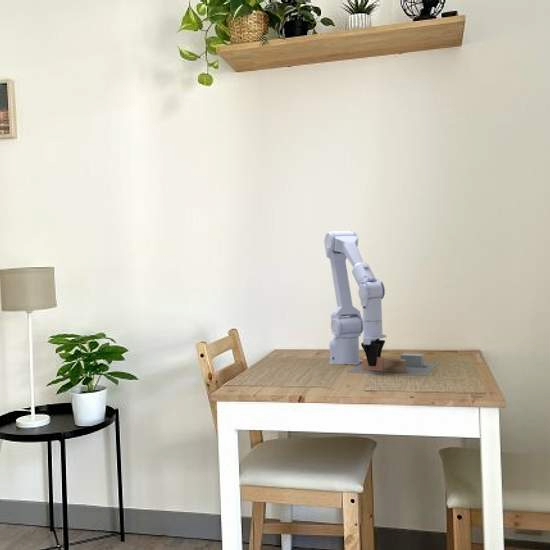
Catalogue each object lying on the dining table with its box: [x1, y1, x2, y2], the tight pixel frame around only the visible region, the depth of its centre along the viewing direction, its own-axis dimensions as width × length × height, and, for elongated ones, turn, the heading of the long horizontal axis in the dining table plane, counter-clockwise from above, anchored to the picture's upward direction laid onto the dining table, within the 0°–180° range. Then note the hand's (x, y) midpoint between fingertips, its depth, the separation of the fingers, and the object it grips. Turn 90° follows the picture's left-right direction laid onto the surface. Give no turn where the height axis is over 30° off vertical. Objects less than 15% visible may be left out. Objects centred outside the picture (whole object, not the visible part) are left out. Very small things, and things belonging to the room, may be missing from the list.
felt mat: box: [346, 362, 439, 377], centre depth 193 cm, size 24×20×1 cm
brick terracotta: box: [361, 356, 386, 371], centre depth 191 cm, size 6×3×4 cm, turn 66°
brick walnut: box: [383, 358, 406, 375], centre depth 185 cm, size 6×3×4 cm, turn 86°
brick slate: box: [400, 353, 425, 367], centre depth 194 cm, size 6×3×4 cm, turn 66°
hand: (374, 364), depth 191 cm, fingers closed on brick terracotta, 3 cm apart
